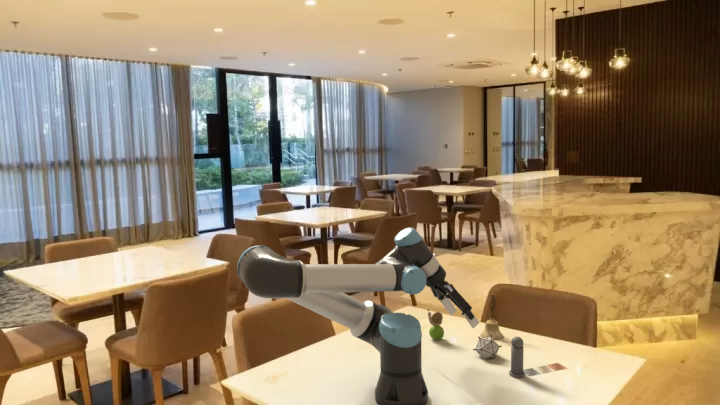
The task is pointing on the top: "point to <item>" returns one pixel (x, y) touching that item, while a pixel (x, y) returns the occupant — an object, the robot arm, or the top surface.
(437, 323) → the snail figurine
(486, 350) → the game die
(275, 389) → the top surface
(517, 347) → the pawn
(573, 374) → the top surface
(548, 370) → the track
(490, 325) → the hand bell
